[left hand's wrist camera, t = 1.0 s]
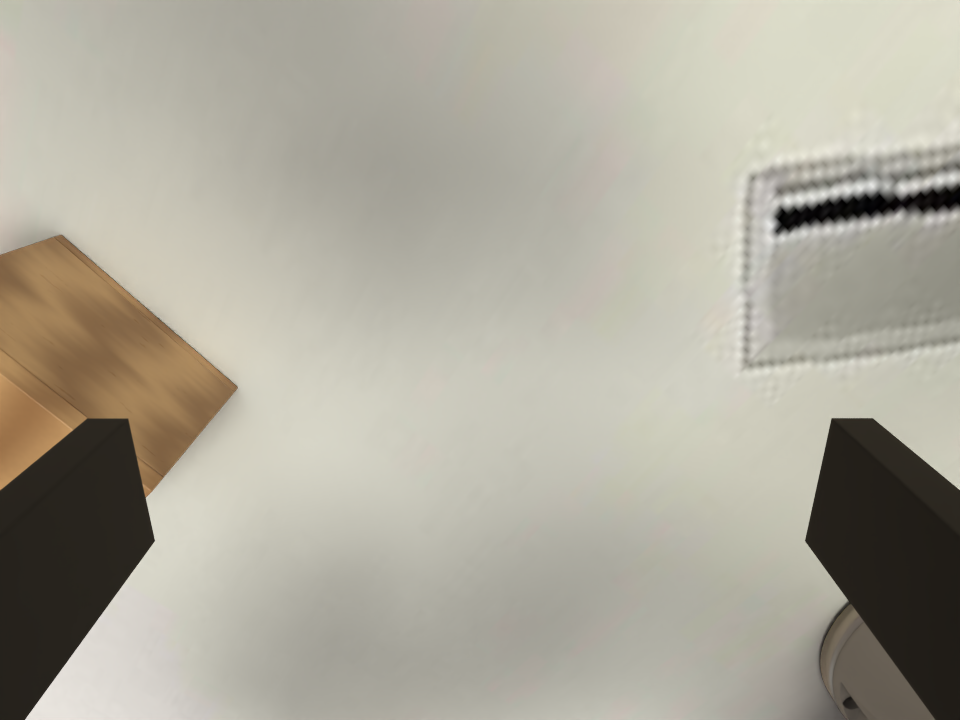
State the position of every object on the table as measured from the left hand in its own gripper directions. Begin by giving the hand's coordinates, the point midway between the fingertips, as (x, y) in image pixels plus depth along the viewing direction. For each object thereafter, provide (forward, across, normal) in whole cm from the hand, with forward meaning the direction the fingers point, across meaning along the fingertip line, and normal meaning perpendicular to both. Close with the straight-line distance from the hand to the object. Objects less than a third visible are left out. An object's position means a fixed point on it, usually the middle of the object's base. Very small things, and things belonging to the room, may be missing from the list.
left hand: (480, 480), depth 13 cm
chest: (+27, -23, -8) cm, 36 cm away
